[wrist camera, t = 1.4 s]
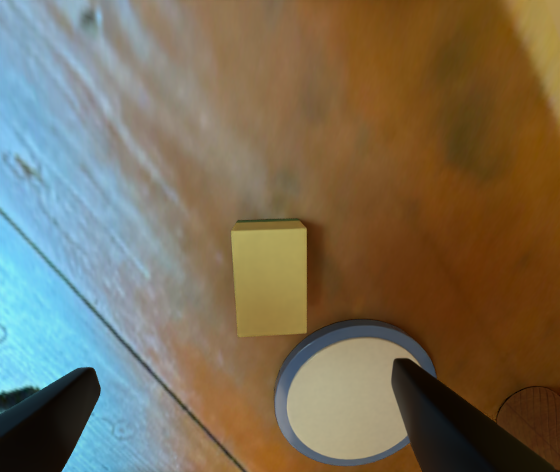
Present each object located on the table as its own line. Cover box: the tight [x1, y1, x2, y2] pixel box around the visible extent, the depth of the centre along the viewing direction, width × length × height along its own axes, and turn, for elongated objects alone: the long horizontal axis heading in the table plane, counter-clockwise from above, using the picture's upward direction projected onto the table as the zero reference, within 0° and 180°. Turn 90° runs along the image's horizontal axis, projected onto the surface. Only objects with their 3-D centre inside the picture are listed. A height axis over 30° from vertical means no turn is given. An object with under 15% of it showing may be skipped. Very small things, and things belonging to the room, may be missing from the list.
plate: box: [274, 319, 437, 466], centre depth 22 cm, size 14×14×1 cm
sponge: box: [231, 218, 307, 337], centre depth 18 cm, size 7×4×4 cm, turn 2°
